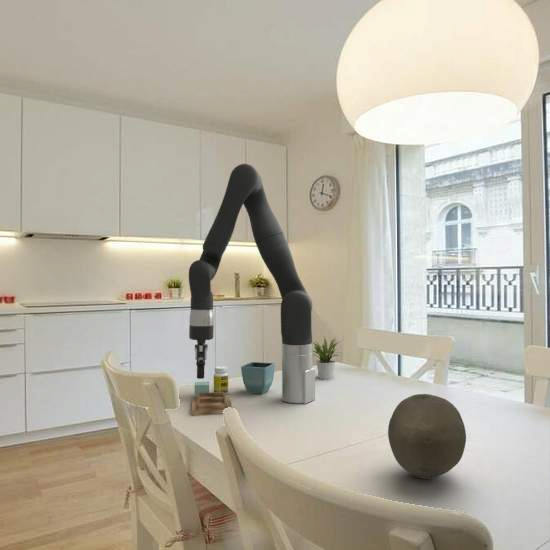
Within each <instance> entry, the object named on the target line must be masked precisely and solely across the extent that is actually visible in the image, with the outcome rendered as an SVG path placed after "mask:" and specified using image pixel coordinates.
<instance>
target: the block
mask: <svg viewBox="0 0 550 550" xmlns="http://www.w3.org/2000/svg"><path fill="white" fill-rule="evenodd" d="M198 393H210V381H195V382H194V397H197V395H198Z"/></svg>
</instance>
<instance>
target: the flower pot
mask: <svg viewBox="0 0 550 550" xmlns="http://www.w3.org/2000/svg"><path fill="white" fill-rule="evenodd" d="M275 368H276V363H275V362H257V361H256V362H255V361H252V362H248V363H246V364H244V365H240V369H241V377H242V381H243V385H244V387H245V388H246V391H247V392H248V393H251V394H260V395H263V394H265V393H266V392H268V391H269V390H270V389H271V386H272V385H273V382H274V376H275V370H276V369H275Z"/></svg>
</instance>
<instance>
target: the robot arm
mask: <svg viewBox="0 0 550 550" xmlns="http://www.w3.org/2000/svg"><path fill="white" fill-rule="evenodd" d="M228 178H229V179H228V182H227V185H226V189H225V192H224V194H223V195H224V196H223V198H222V201H221V204H220V207H219V209H218V211H217V214H216V216H215V217H214V220H213V223H212V225H211V227H210V229H209V231H208V233H207V235H206V237H205V239H204V242H203V243H202V253H201V255H200V257H199V259H198V260H195V261H193V262H192V263H191V264H190V266H189V269H188V283H189V284H188V285H189V290H190V312H189V328H188V333H189V334H188V337H189V340H192V341H196V342H197V343H196V344H194V353H195V354H194V355H195V356H194V357H195V360H196V362H195V365H196V379H198V380H200V379H201V380H202V379H204V378H205V366H206V360H207V357H208V356H207V355H208V354H207V352H208V344H206V341H209V340H213V339H214V329H215V327H214V326H215V324H214V323H215V321H214V320H215V319H214V318H215V315H214V294H213V292H212V291H211V289H212V287H211V281H212V280H214V278H215V276H216V274H217V273H218V269H219V267H220V264H221V262H222V257H223V255H224V253H225V252H226V249H227V247H228V245H229V242H230V241H231V239H232V236H233V234H234V231H235V228H236V223H237V219H238V217H239V215H240V211H241V210H242V207H243V206H244V208H245V210H246V213H247V215H248V219H249V224H250V229H251V232H252V236H253V239H254V241H255V244H256V245H255V246H256V248H257V250H258V252H259V255H260V256H261V257H260V258H262V260H263V263H264V265H265V266H266V269H268V271H269V272H270V274H271V276H272V278H273V279H274V281H275V283H276V285H277V287H278V291H279V293H280V298H281V303H280V334H281V372H282V373H281V385H282V386H281V387H282V388H281V390H282V391H281V393H282V394H281V395H282V396H281V397H282V399H281V400H282V401H283V402H286V403H291V404H304V405H305V404H308V403H310V402H312V401H314V400H316V368H314V367H313V332H312V330H313V329H312V310H313V301H312V299H311V296H310V295H309V293H308V292H307V290H306V288H305V286H304V285H303V283H302V280H301V279H300V277H299V274H298V272H297V268H296V265H295V261H294V258H293V255H292V252H291V248H290V247H289V246H290V245H289V244H288V242H287V239H286V236H285V234H284V231H283V229H282V227H281V225H280V223H279V221H278V220H277V219H278V218H276V215H275V214H274V212H273V211H272V208H271V206H270V205H269V202H268V198H267V196H266V195H267V194H266V193H265V192H266V191H265V188H264V184H263V180H262V178H261V176H260V174H259V172H258V171H257V169H256V168H255V167H254V166H252V164H248V163H241V164H238V165H237V166H235V167H234V168H233V169H232V171H231V173H230V175H229V177H228Z"/></svg>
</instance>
